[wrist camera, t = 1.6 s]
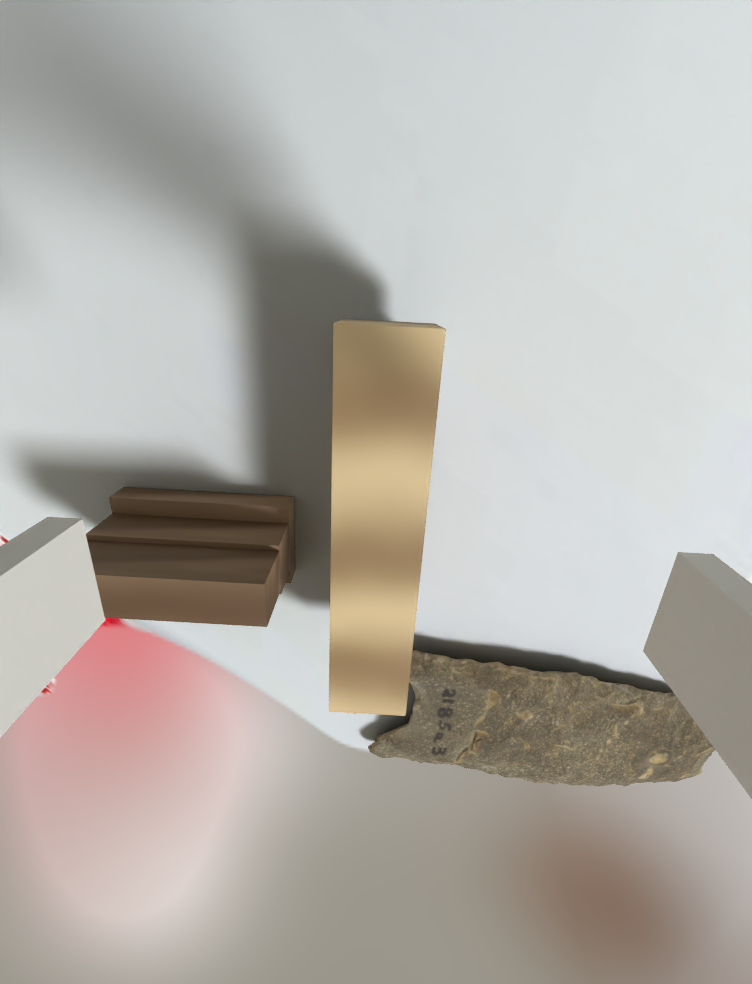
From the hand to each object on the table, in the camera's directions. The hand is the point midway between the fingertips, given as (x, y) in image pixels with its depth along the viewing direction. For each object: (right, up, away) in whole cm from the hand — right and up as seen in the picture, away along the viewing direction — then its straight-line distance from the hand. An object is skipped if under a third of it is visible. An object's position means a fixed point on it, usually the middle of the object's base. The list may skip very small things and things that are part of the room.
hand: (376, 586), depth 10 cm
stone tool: (+13, -14, +23) cm, 30 cm away
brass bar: (0, +1, +13) cm, 13 cm away
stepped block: (-10, 0, +17) cm, 20 cm away
